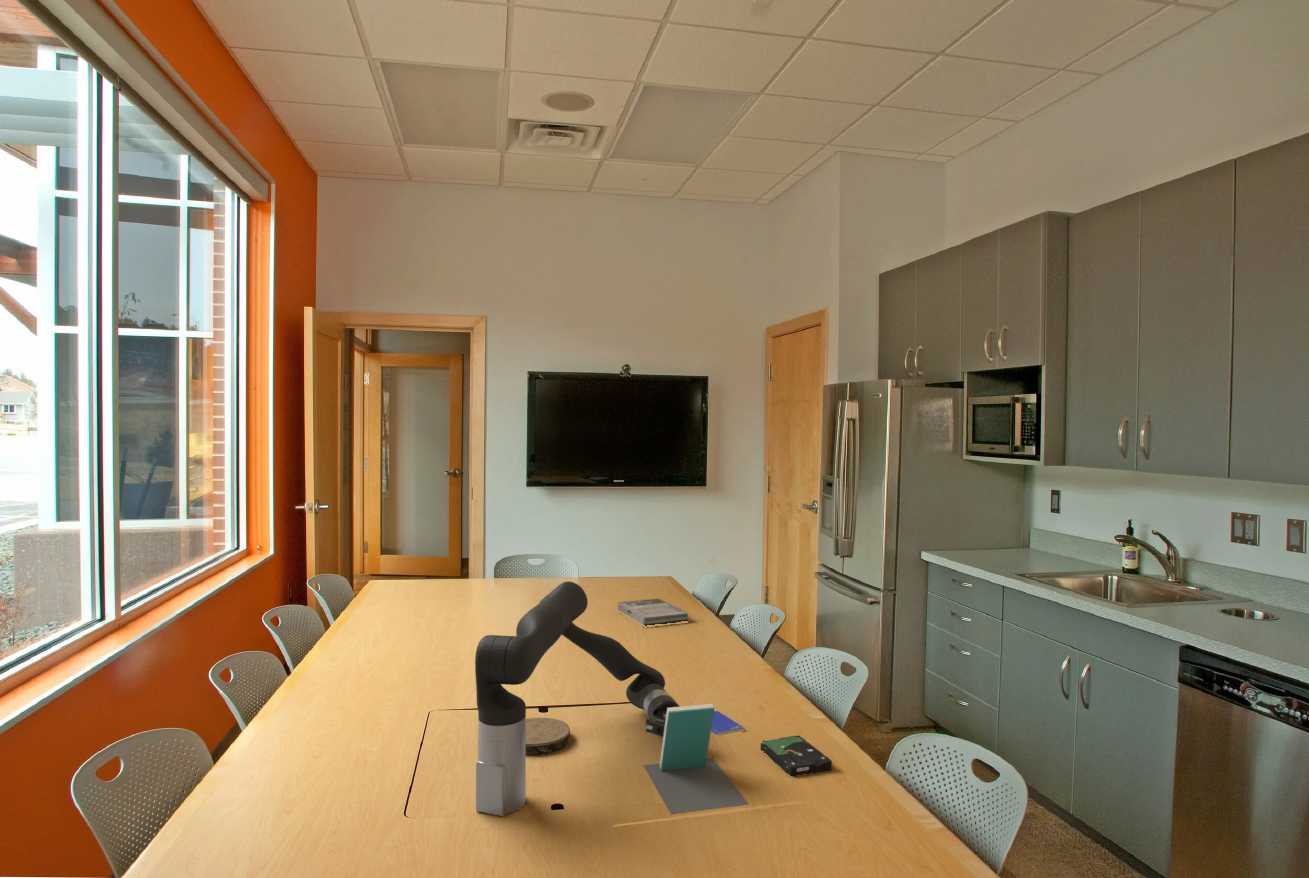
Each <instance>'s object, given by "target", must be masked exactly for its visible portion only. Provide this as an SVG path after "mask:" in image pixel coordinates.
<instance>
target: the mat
mask: <svg viewBox="0 0 1309 878" xmlns="http://www.w3.org/2000/svg"><path fill="white" fill-rule="evenodd" d="M659 765H660V762H659V763H651V764H644V765H643V767H644V770H645V771H646V773H647V774H648V776H649V779H650V780H651V782H652V784H653V785H654V787H655V788H656V789H655V790H657V793H659V795H660V797H661V799H662V801H663V803H664V804H665V806H666V808H667V810H668V811H669V813H670V815H675V814H684V813H691V812H698V811H706V810H707V811H708V810H713V809H722V808H729V807H730V808H731V807H737V806H744V805H749V802H748V801H747V800H746V798H745V797H744V796H743V794H742V793H741V792H740V790H739V789H738V788H737V787H736V786H735V784H734V783H733V782H732V780H731V779H730V778H729V776H728V775H727V774H726V772H725V771H724V770H723V769H722V768H721V766H719V764H718V763H717V761H716V760H715V759H714V758H713V757H707V758H706V764H705V766H701V767H693V768H684V769H675V770H666V771H661V769H660V766H659Z"/></svg>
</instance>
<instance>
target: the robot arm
mask: <svg viewBox="0 0 1309 878" xmlns="http://www.w3.org/2000/svg"><path fill="white" fill-rule="evenodd" d="M588 602H589V601H588V597H587V594H586V593H585V590H584V588H582V586H581V585H579V584H577V583H575V582H573V581H570V580H569V581H564V582H562V583H560V584H558V585H557V586H556V587H555V588H554V589H552V591H550V592H549V593H548V594H546V595H545V596H544V597H543V598H542V599H541V600H540V601H539V603H538V604H536V605H535V606H534V607H532V608H531V609H529V610H528V611H527V612H526V613H524V615H523V616H522V617H521V618H520V619H519V620H518V622H517V625H516V628H515V629H516V630H515V631H516V633H515V634H516V635H500V634H498V635H497V634H490V635H489V634H487V635H484V636H483V637H482V638H480V640H479V642H478V644H477V647H476V651H475V657H474V672H475V673H474V674H475V686H476V687H475V688H476V689H475V691H476V706H477V707H476V708H477V715H478V716H477V717H478V718H477V719H478V723H477V724H478V727H477V729H478V730H477V731H478V735H477V738H478V741H477V743H478V744H477V745H478V747H477V748H478V749H477V750H478V751H477V755H478V756H477V757H478V758H477V759H478V761H477V762H476V763H475V811H476V812H480V813H485V814H488V815H494V816H497V815H498V817H504V816H505V815H508V814H510V813H514V812H517V811H519V810H520V809H522V808H523V807H524V806H525V804H526V799H527V798H526V795H527V794H526V790H527V789H526V788H527V781H526V779H527V777H526V769H527V768H526V767H527V766H526V765H527V764H526V763H527V762H526V719H527V708H526V707H527V706H526V702H525V701H524V700H523V698H521V697H519V696H518V695H515V694H513V693H512V692H510V691H509V690H507V689H506V688H505V687H504V686H503V685H506V686H507V685H509V686H510V685H511V686H517V685H522V684H524V683H525V682H526V681H527V680H528V679H530V677H531V676H532V674H533V673H534V671H535V669H536V668H537V666H538V664H539V663H540V661H541V660H542V658H543V657H544V656H545V654H546V653H547V652H548V650H550V649H551V647H553V646H554V644H555V643H556V642H558V640H559V639H560V638H561V636H563V637H564V638H566V639H567V640H568V641H570V642H571V643H572V644H574V645H575V646H577V647H579V648H580V649H582V650H583V651H584V652H585V653H587V654H589V655H590V656H591V657H592V658H594V659H595V660H596V661H597V662H598V663H599V664H601V666H603V667H604V668H605V670H607V671H608V672H609V673H610V674H611V675H612V676H613V677H614V678H615V679H616V680H617V681H618V682H619V681H620V682H624V681H626V680H628V679H630V678H631V677H633V676H634V675H637V676H636V677H635V678H634V679H633V680H632V682H631V683H630V684H628V686H627V687H626V691H625V696H626V698H627V700H628V701H629V702H630V703H631V704H632V705H633V706H634V707H636V708H638V709H641V710H643V711H644V713H645V716H646V717H647V719H645V732H646V733H648V734H649V733H650V734H653V735H654V736H655V735H656V736H659V737H662V738H663V736H664V728H665V721H666V714H667V708H670V707H681V706H680V705H679V704H678V702H677V701H676V700H675V699H674V697H673V696H672V695H671V694H669V692H667V690H665V686H666V681H665V680H666V679H665V677H664V675H663V674H662V672H660V671H659V670H657V669H655V668H654V667H652V666H650V665H648V664H645V663H644V662H642V661H640V660H639V659H637V658H636V657H635V656H633V654H632V653H631V652H630V651H629V650H627V649H626V647H625V646H623V645H622V643H620V642H619V641H617V640H616V639H614V638H612V637H610V636H606V635H603V634H598V633H595V632H592V631H589V630H585V629H583V628H581V627H579V626H577V625H576V624H575V623H574V621H576V619H578V618H579V617H580V616H582V614H584V613H585V612H586V610H587V608H588Z"/></svg>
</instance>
